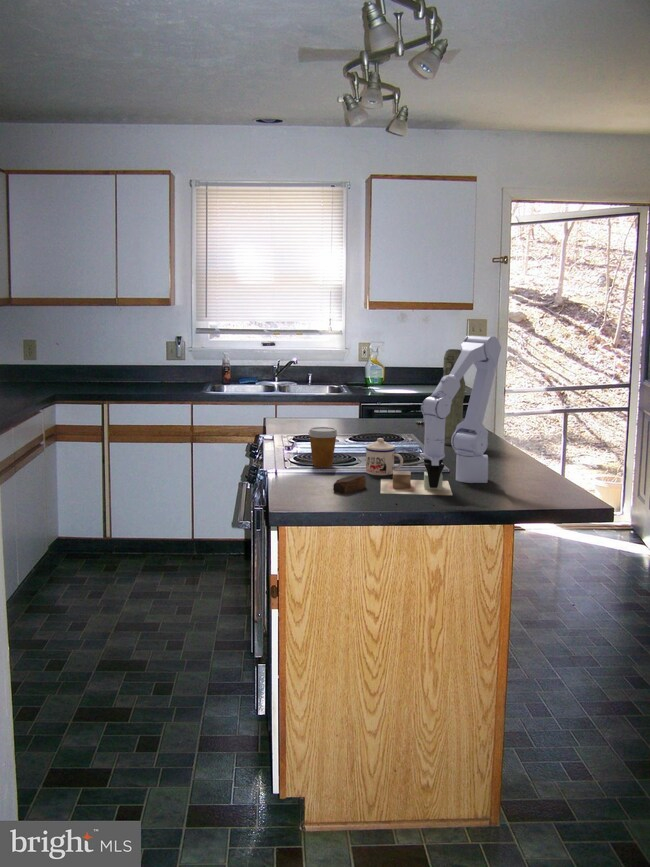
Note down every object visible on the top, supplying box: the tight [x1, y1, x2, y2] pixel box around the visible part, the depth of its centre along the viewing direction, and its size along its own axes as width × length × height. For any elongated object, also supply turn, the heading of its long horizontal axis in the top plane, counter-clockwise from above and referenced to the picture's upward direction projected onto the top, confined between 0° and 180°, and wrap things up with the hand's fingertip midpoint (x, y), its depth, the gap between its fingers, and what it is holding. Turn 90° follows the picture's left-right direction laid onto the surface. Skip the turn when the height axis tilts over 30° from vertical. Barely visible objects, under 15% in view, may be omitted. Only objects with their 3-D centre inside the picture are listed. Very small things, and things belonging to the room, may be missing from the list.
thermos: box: [442, 348, 466, 446], centre depth 323 cm, size 9×12×35 cm
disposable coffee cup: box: [308, 426, 339, 468], centre depth 282 cm, size 10×10×12 cm
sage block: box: [423, 471, 444, 490], centre depth 250 cm, size 5×5×4 cm
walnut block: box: [392, 470, 412, 489], centre depth 250 cm, size 5×5×4 cm
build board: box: [380, 478, 453, 496], centre depth 250 cm, size 20×18×1 cm
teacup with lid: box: [365, 437, 404, 476], centre depth 268 cm, size 12×9×12 cm
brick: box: [332, 473, 367, 495], centre depth 246 cm, size 11×4×5 cm, turn 143°
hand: (432, 485), depth 250 cm, fingers closed on sage block, 5 cm apart
